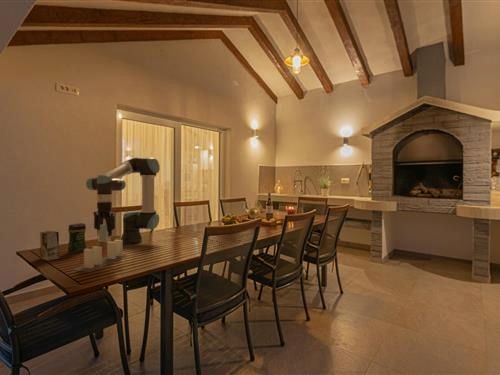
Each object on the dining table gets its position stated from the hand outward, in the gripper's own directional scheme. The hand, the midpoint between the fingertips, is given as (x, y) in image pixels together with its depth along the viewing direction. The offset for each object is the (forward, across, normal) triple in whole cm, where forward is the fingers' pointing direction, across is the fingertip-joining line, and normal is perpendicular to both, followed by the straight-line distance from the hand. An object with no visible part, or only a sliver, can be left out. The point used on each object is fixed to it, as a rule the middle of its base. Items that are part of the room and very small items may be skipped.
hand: (104, 241), depth 153 cm
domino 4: (+12, 0, +6) cm, 13 cm away
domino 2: (+12, 0, -5) cm, 13 cm away
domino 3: (0, 0, 0) cm, 0 cm away
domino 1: (+12, 0, -11) cm, 16 cm away
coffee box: (+13, -36, -4) cm, 39 cm away
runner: (+12, 0, -1) cm, 12 cm away
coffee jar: (+13, -33, +12) cm, 38 cm away
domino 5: (+12, 0, +11) cm, 16 cm away
